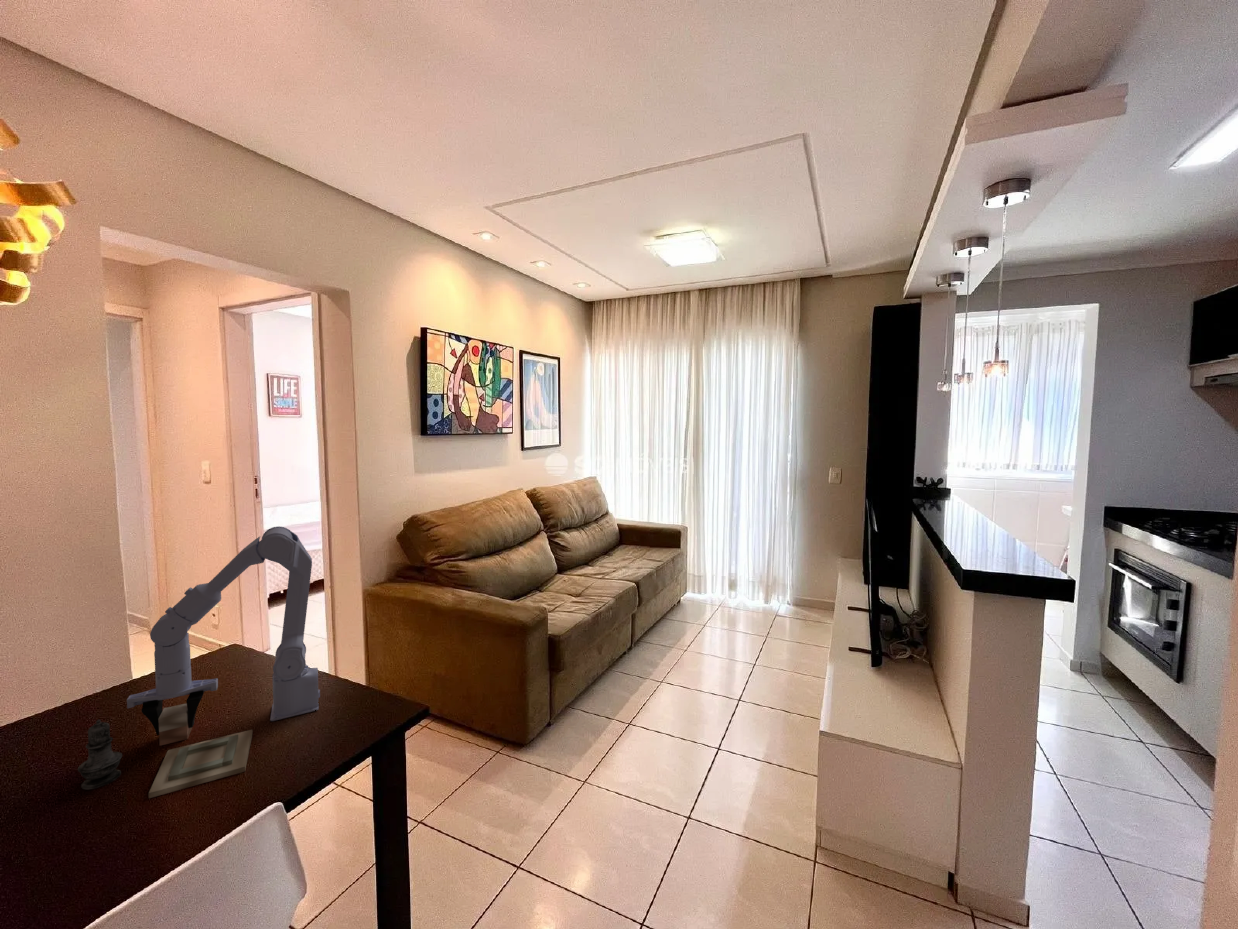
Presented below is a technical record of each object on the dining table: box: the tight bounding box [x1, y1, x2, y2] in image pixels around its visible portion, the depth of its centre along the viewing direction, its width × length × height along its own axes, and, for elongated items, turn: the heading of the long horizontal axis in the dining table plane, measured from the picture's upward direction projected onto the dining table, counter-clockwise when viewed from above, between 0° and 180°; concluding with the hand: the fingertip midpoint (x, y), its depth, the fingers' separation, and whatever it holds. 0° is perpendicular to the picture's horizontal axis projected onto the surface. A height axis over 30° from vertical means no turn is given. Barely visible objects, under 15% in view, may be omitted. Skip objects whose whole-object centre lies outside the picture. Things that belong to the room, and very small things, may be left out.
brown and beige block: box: [158, 702, 193, 746], centre depth 107 cm, size 4×4×6 cm
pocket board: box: [148, 729, 254, 799], centre depth 99 cm, size 14×14×2 cm
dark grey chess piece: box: [77, 718, 123, 791], centre depth 93 cm, size 6×6×12 cm
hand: (176, 729), depth 107 cm, fingers closed on brown and beige block, 4 cm apart
